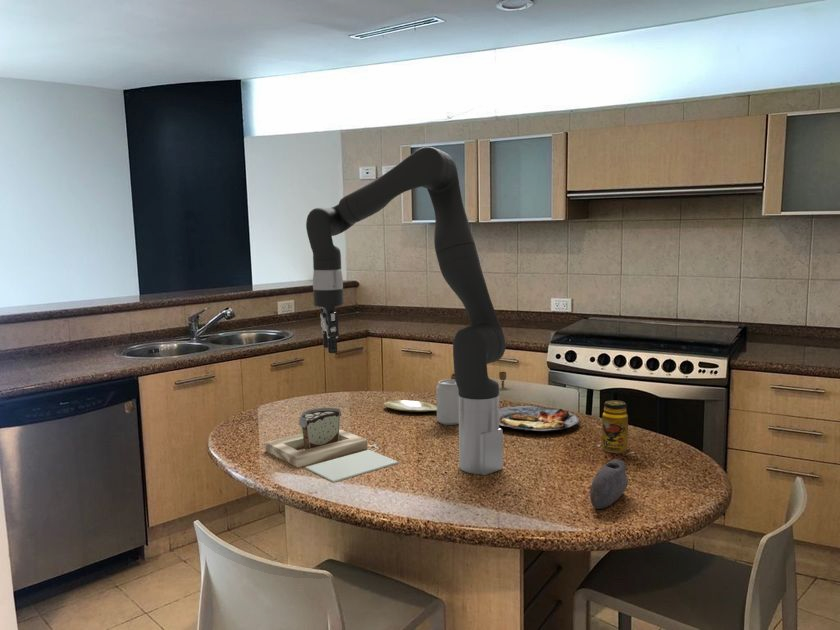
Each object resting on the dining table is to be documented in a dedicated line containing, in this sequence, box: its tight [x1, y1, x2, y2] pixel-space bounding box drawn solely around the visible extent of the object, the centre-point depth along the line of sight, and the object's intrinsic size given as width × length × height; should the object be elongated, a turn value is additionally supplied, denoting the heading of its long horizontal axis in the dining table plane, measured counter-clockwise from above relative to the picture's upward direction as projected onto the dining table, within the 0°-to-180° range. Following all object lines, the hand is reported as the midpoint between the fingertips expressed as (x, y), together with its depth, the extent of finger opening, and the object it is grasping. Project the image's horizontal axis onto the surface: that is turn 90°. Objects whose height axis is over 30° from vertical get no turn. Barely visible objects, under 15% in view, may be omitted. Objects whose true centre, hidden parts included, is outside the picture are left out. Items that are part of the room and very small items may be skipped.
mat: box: [305, 449, 399, 483], centre depth 158 cm, size 12×18×1 cm, turn 130°
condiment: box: [596, 400, 635, 454], centre depth 166 cm, size 7×8×12 cm
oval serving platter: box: [383, 399, 437, 413], centre depth 202 cm, size 35×11×2 cm, turn 62°
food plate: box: [499, 405, 581, 432], centre depth 189 cm, size 25×23×4 cm
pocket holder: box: [265, 428, 368, 468], centre depth 170 cm, size 16×20×2 cm
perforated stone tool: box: [589, 458, 629, 510], centre depth 135 cm, size 15×5×7 cm, turn 144°
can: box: [435, 379, 459, 426], centre depth 192 cm, size 8×8×12 cm
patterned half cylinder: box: [298, 407, 343, 450], centre depth 170 cm, size 12×6×10 cm, turn 141°
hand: (330, 350), depth 173 cm, fingers open, 8 cm apart
